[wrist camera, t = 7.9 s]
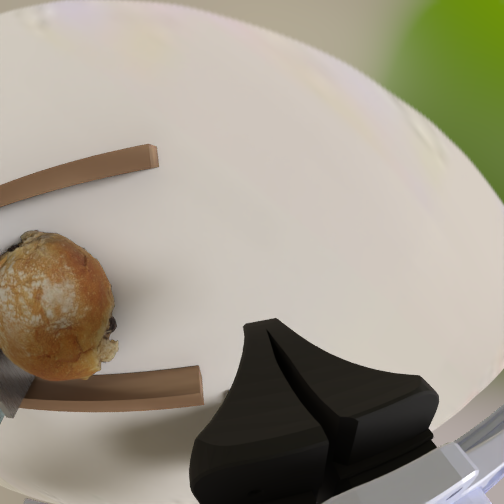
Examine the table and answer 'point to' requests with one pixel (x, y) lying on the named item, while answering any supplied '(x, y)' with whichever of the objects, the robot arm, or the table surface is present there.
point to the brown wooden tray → (115, 385)
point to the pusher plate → (12, 385)
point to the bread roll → (55, 308)
